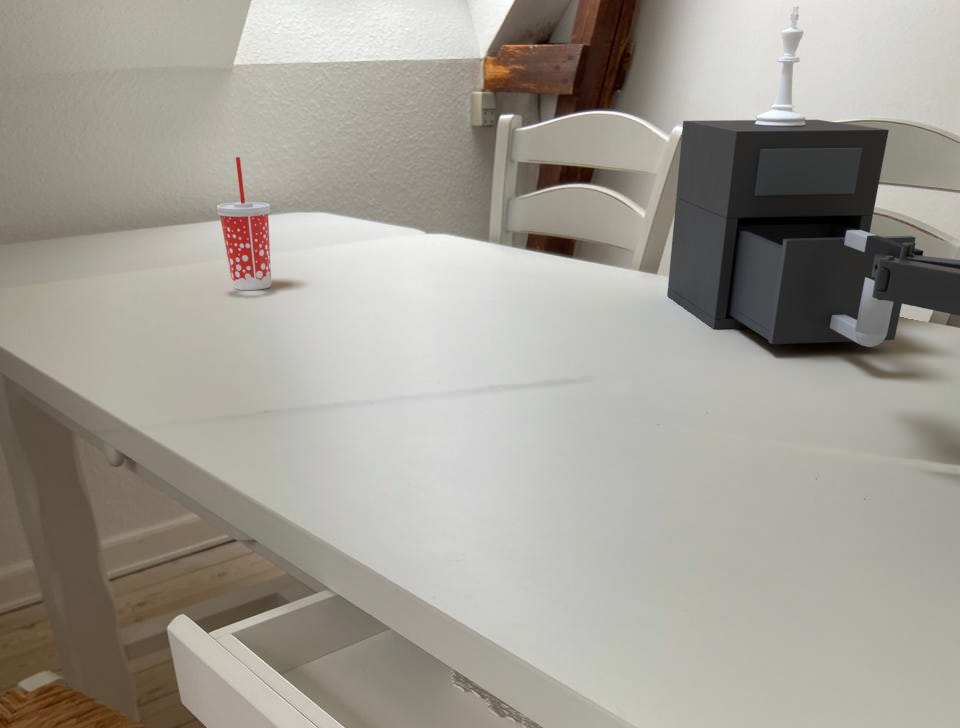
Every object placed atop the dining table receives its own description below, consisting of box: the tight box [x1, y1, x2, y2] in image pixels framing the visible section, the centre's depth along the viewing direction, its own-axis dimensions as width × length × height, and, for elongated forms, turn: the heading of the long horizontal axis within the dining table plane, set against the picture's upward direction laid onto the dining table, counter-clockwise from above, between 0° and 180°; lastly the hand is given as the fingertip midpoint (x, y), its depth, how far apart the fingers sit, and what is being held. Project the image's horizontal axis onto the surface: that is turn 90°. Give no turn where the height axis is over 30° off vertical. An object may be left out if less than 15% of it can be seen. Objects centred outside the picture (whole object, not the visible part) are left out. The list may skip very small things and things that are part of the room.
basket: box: [727, 222, 916, 348], centre depth 93 cm, size 23×12×10 cm, turn 8°
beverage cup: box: [216, 156, 272, 291], centre depth 117 cm, size 6×6×14 cm
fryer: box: [666, 119, 889, 330], centre depth 105 cm, size 16×15×18 cm
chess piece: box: [755, 6, 807, 126], centre depth 98 cm, size 5×5×10 cm
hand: (955, 252), depth 74 cm, fingers open, 13 cm apart
